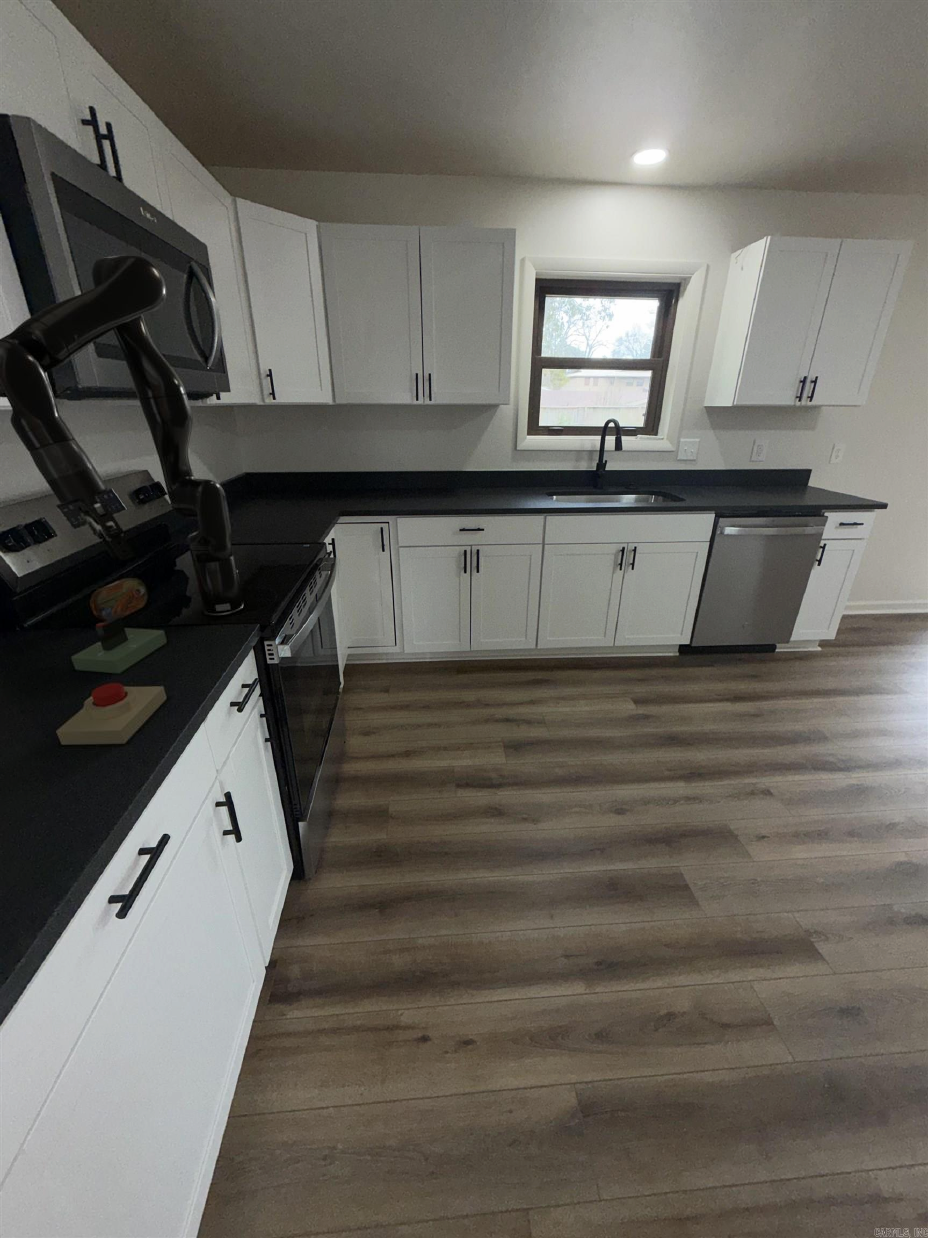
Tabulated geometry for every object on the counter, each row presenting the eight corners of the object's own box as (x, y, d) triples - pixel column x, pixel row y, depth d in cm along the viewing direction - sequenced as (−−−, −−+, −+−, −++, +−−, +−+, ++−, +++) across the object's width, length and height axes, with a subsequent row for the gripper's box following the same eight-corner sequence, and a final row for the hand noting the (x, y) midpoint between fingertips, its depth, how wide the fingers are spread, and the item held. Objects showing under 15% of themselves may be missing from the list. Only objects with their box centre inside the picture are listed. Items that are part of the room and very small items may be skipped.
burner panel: (127, 639, 113) (123, 627, 112) (167, 642, 112) (163, 629, 111) (75, 670, 101) (70, 656, 100) (119, 673, 99) (114, 659, 98)
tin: (104, 626, 120) (94, 594, 116) (94, 625, 120) (82, 593, 117) (152, 603, 133) (143, 573, 130) (142, 602, 134) (133, 572, 130)
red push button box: (112, 699, 91) (104, 678, 89) (167, 698, 91) (160, 677, 89) (61, 745, 79) (51, 721, 77) (124, 743, 79) (116, 720, 77)
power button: (106, 693, 85) (102, 683, 85) (131, 692, 86) (128, 682, 85) (88, 707, 81) (85, 697, 81) (116, 707, 82) (112, 696, 81)
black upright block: (121, 639, 107) (113, 615, 104) (128, 639, 106) (120, 615, 104) (103, 650, 102) (94, 625, 100) (109, 650, 102) (101, 625, 100)
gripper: (99, 461, 83) (153, 550, 90) (86, 467, 93) (135, 546, 100) (49, 477, 79) (109, 568, 86) (41, 481, 89) (95, 562, 96)
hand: (123, 556), depth 93 cm, fingers open, 8 cm apart
